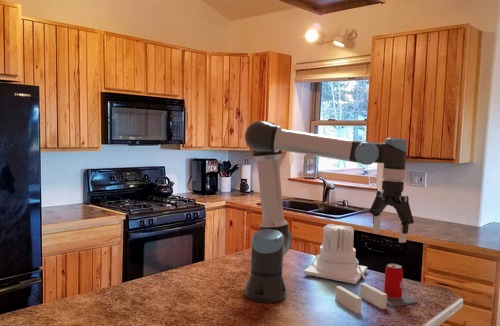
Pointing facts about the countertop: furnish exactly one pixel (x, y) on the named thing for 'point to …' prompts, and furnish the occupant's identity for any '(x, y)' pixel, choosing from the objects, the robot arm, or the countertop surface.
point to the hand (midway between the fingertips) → (388, 237)
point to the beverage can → (393, 281)
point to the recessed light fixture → (337, 256)
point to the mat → (400, 301)
